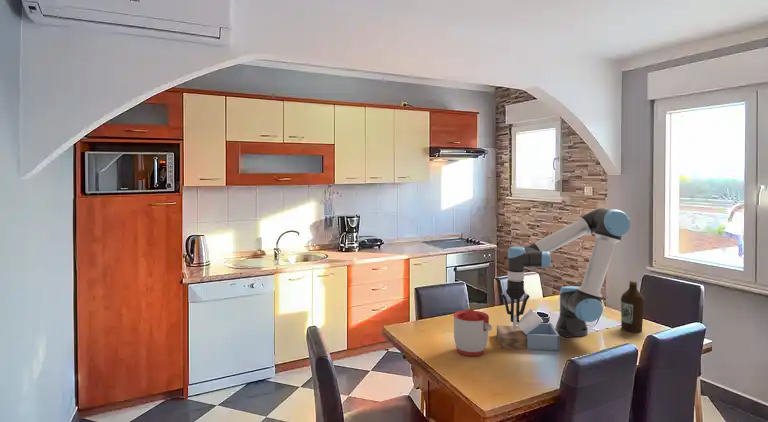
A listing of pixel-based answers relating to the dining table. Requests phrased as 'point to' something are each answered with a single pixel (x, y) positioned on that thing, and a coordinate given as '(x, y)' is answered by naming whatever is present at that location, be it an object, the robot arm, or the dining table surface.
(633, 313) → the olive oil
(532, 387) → the dining table surface
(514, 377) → the dining table surface
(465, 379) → the dining table surface
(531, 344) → the box
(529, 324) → the white cup
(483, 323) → the citrus juicer
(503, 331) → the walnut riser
